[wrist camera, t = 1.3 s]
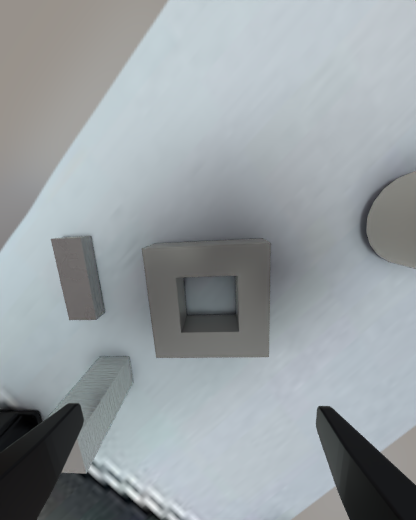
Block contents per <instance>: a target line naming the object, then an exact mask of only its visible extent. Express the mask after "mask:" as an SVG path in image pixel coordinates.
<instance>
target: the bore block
mask: <svg viewBox="0 0 416 520" xmlns="http://www.w3.org/2000/svg"><path fill="white" fill-rule="evenodd" d="M270 249H271V243H270V242H268V241H266V240H264V239H263V238H257V239H237V240H216V241H195V242H174V243H154V244H152V245H150V246H147V247H145V248H142V254H143V261H144V269H145V276H146V284H147V291H148V299H149V306H150V314H151V322H152V329H153V337H154V344H155V352H156V358H197V357H269V313H270ZM211 276H235V284H236V314H228V315H187V311H186V300H185V288H184V277H211Z"/></svg>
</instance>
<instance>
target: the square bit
mask: <svg viewBox="0 0 416 520" xmlns="http://www.w3.org/2000/svg"><path fill="white" fill-rule="evenodd" d="M132 384H133V376H132V370H131V364H130V358H129V356H100V357H99V358H98V359H97V360H96V361H95V363H94V364H93V365H92V366H91V367H90V368H89V370H88V371H87V372H86V373H85V374H84V375H83V377H82V378H81V379H80V380H79V381H78V382H77V384H76V385H75V386H74V387H73V388H72V390H71V391H70V392H69V393H68V394H67V395H66V397H65V398H64V399H63V400H62V401H61V402H60V404H59V405H58V406H57V407H56V408H55V409H54V411H53V412H52V413H51V414H50V415H49V416H48V417H50V416H51V415H53V414H54V413H55V412H57V411H58V410H59V409H61V408H62V407H64V406H65V405H66V404H68V403H79V404H80V405H81V409H82V413H83V417H84V423H83V427H82V429H81V431H80V433H79V436H78V438H77V440H76V442H75V444H74V446H73V449H72V451H71V453H70V455H69V457H68V459H67V462H66V464H65V466H64V468H63V470H62V473H87V471H88V469H89V467H90V465H91V463H92V462H93V460H94V458H95V456H96V454H97V452H98V450H99V448H100V446H101V444H102V442H103V440H104V438H105V436H106V434H107V433H108V431H109V429H110V427H111V425H112V423H113V421H114V419H115V417H116V415H117V413H118V411H119V409H120V407H121V405H122V404H123V402H124V400H125V398H126V396H127V394H128V392H129V390H130V388H131V386H132Z"/></svg>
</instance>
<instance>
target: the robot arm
mask: <svg viewBox="0 0 416 520" xmlns="http://www.w3.org/2000/svg"><path fill="white" fill-rule="evenodd" d="M83 423H84V417H83V413H82V409H81V405H80V404H79V403H68V404H66V405H65V406H64V407H62V408H61V409H59V410H58V411H57V412H55V413H54V414H53V415H51V416H50V417H48V418H47V419H46V420H44V421H43V422H41V419H40V415H39V413H38V412H36V411H0V520H37V518H38V516H39V514H40V512H41V510H42V509H43V507H44V505H45V503H46V501H47V499H48V498H49V496H50V494H51V492H52V490H53V488H54V486H55V484H56V482H57V481H58V479H59V476H60V474H61V472H62V470H63V468H64V466H65V464H66V462H67V459H68V457H69V455H70V453H71V451H72V449H73V446H74V444H75V442H76V440H77V438H78V436H79V433H80V431H81V429H82V427H83ZM316 428H317V432H318V435H319V438H320V441H321V444H322V447H323V450H324V452H325V455H326V458H327V461H328V464H329V467H330V470H331V473H332V476H333V479H334V482H335V485H336V487H337V490H338V493H339V495H340V498H341V500H342V503H343V505H344V507H345V510H346V512H347V515H348V517H349V519H350V520H416V485H415V484H414V483H413V482H412V481H411V480H409V479H408V478H407V477H406V476H405V475H404V474H403V473H402V472H401V471H400V470H399V469H398V468H397V467H395V466H394V465H393V464H392V463H391V462H390V461H389V460H388V459H387V458H386V457H385V456H384V455H382V454H381V453H380V452H379V451H378V450H377V449H376V448H375V447H374V446H373V445H372V444H371V443H370V442H368V441H367V440H366V439H365V438H364V437H363V436H362V435H361V434H360V433H359V432H358V431H357V430H355V429H354V428H353V427H352V426H351V425H350V424H349V423H348V422H347V421H346V420H345V419H344V418H343V417H341V416H340V415H339V414H338V413H337V412H336V411H335V410H334V409H333V408H331V407H330V406H318V408H317V417H316Z"/></svg>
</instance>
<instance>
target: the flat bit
mask: <svg viewBox="0 0 416 520" xmlns="http://www.w3.org/2000/svg"><path fill="white" fill-rule="evenodd" d="M51 242H52V246H53V251H54V255H55V259H56V264H57V268H58V272H59V277H60V281H61V286H62V290H63V294H64V299H65V303H66V307H67V312H68V316H69V320H97V319H98V318H99V317H100V316H101V315H103V314H104V313H105V310H104V304H103V299H102V293H101V287H100V282H99V276H98V271H97V265H96V260H95V254H94V248H93V243H92V237H91V236H81V237H62V238H54V239H51Z"/></svg>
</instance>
